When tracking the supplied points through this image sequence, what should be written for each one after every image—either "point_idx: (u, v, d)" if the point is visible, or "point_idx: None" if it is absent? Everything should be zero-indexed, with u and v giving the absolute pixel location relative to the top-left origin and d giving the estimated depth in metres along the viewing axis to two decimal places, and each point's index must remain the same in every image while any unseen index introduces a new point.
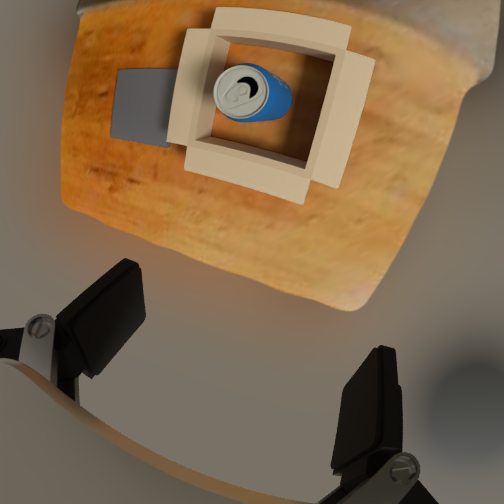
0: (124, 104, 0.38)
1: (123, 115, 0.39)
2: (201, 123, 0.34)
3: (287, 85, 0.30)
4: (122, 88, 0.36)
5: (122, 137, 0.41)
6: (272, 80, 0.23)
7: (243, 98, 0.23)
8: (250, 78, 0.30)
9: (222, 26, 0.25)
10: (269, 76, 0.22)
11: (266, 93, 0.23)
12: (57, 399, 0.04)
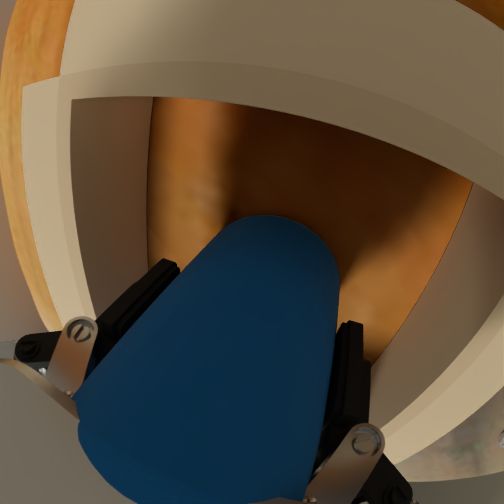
0: None
1: None
2: None
3: None
4: None
5: None
6: None
7: None
8: (328, 274, 0.10)
9: None
10: None
11: None
12: (57, 399, 0.04)
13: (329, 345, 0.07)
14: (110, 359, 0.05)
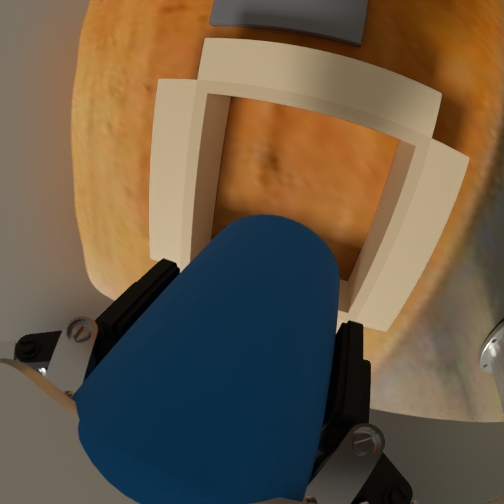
0: None
1: None
2: None
3: None
4: None
5: None
6: None
7: None
8: (328, 274, 0.10)
9: (431, 161, 0.15)
10: None
11: None
12: (57, 399, 0.04)
13: (329, 344, 0.07)
14: (111, 358, 0.05)
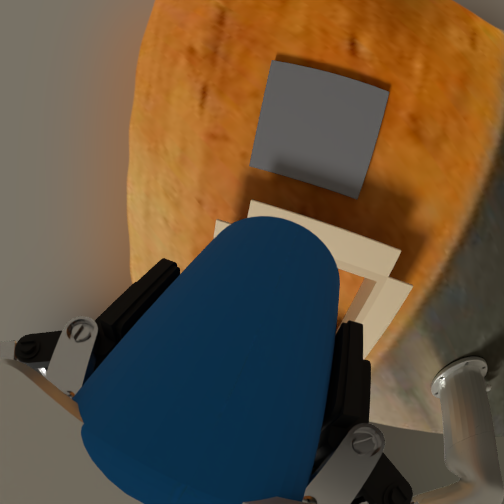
0: (325, 95, 0.25)
1: (306, 91, 0.25)
2: None
3: None
4: (352, 95, 0.24)
5: (269, 85, 0.26)
6: None
7: None
8: (327, 276, 0.10)
9: (385, 289, 0.28)
10: None
11: None
12: (57, 399, 0.04)
13: (328, 346, 0.07)
14: (110, 361, 0.05)
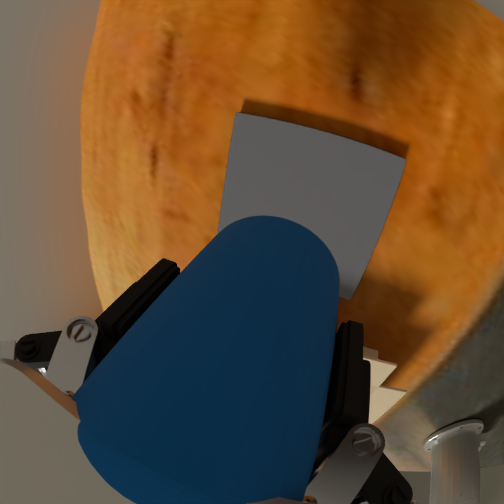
0: (312, 166, 0.19)
1: (285, 159, 0.19)
2: None
3: None
4: (352, 166, 0.18)
5: (233, 151, 0.20)
6: None
7: None
8: (327, 275, 0.10)
9: (374, 395, 0.23)
10: None
11: None
12: (57, 399, 0.04)
13: (329, 346, 0.07)
14: (109, 360, 0.05)
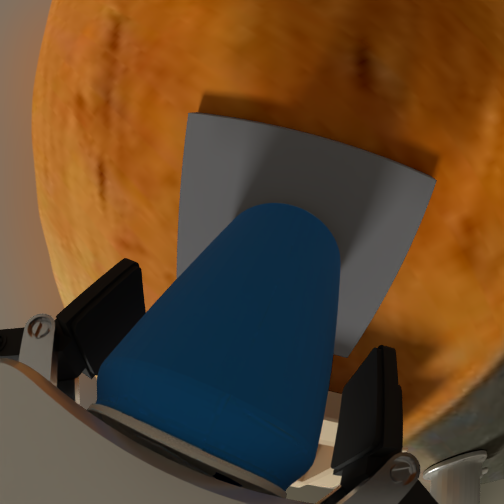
0: (298, 188, 0.13)
1: (259, 179, 0.14)
2: None
3: None
4: (358, 189, 0.12)
5: (187, 168, 0.14)
6: None
7: None
8: (330, 251, 0.11)
9: None
10: None
11: None
12: (57, 399, 0.04)
13: (333, 306, 0.09)
14: (154, 311, 0.07)
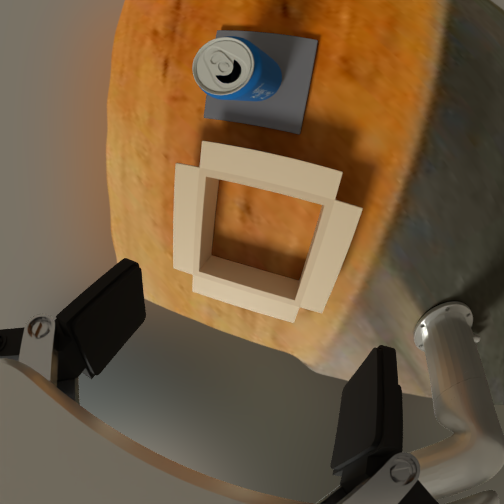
0: (262, 50, 0.27)
1: None
2: None
3: (269, 96, 0.28)
4: (285, 47, 0.26)
5: None
6: (241, 95, 0.21)
7: (215, 69, 0.19)
8: (272, 59, 0.25)
9: (335, 213, 0.31)
10: (245, 91, 0.21)
11: (222, 92, 0.21)
12: (57, 399, 0.04)
13: (271, 60, 0.23)
14: None
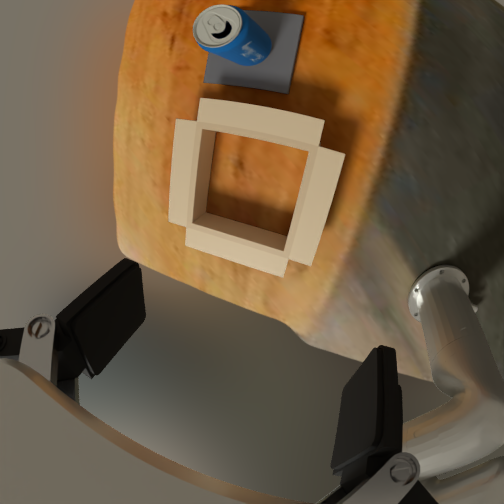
0: None
1: None
2: None
3: (260, 60, 0.30)
4: (275, 22, 0.28)
5: None
6: (232, 48, 0.23)
7: (211, 28, 0.21)
8: None
9: (319, 159, 0.32)
10: (235, 45, 0.22)
11: (215, 45, 0.22)
12: (57, 399, 0.04)
13: (260, 27, 0.25)
14: None
